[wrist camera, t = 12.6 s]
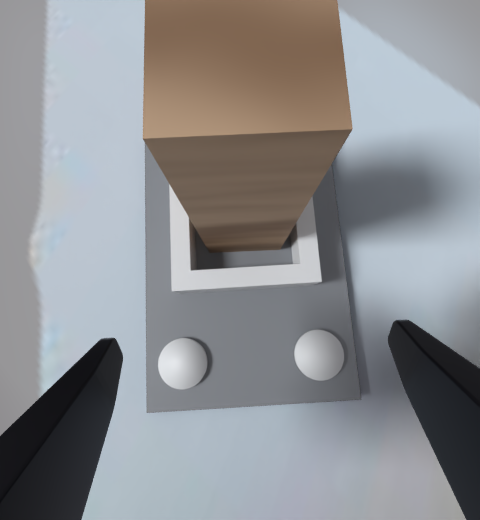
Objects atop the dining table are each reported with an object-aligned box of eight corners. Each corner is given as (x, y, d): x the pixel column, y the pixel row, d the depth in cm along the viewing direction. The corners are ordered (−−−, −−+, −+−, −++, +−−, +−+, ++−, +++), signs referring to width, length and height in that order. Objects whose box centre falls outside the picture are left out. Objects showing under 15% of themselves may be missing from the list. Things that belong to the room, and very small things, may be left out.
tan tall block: (279, 249, 21) (352, 129, 7) (209, 252, 21) (142, 138, 7) (274, 173, 22) (329, -65, 8) (207, 176, 22) (146, -57, 8)
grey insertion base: (356, 396, 20) (378, 412, 17) (150, 408, 20) (132, 428, 17) (323, 128, 23) (336, 98, 20) (148, 139, 23) (132, 111, 20)
